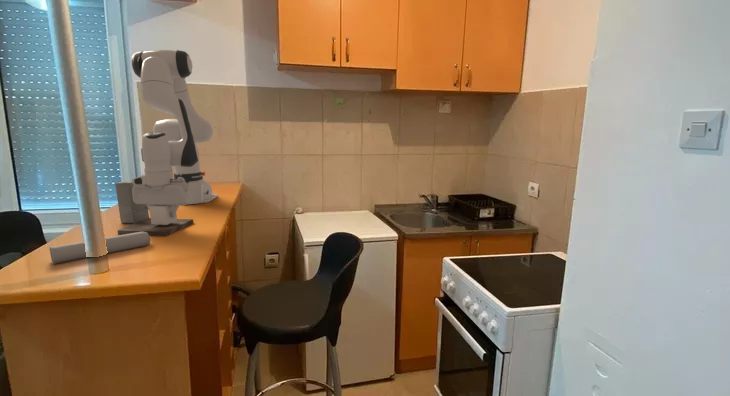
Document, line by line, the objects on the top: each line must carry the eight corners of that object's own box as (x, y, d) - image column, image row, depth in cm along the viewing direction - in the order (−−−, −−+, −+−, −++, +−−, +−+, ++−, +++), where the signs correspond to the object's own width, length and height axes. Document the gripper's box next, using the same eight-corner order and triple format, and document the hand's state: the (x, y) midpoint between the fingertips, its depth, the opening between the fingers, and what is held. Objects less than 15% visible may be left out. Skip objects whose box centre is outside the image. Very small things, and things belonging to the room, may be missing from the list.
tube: (146, 230, 128) (49, 247, 111) (150, 228, 124) (49, 245, 107) (149, 246, 127) (52, 265, 111) (153, 245, 123) (53, 264, 107)
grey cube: (162, 219, 146) (160, 202, 144) (177, 220, 145) (175, 203, 144) (151, 224, 140) (149, 206, 139) (166, 224, 139) (164, 206, 138)
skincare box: (134, 224, 150) (129, 183, 146) (118, 223, 151) (113, 182, 148) (150, 218, 158) (146, 179, 154) (135, 217, 159) (130, 179, 156)
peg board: (150, 221, 153) (148, 205, 152) (193, 223, 150) (191, 206, 149) (118, 234, 136) (115, 216, 135) (165, 236, 134) (163, 217, 133)
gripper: (191, 177, 141) (195, 215, 144) (139, 176, 144) (144, 213, 147) (181, 180, 135) (185, 219, 138) (127, 179, 138) (132, 217, 140)
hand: (163, 216), depth 142 cm, fingers closed on grey cube, 6 cm apart
